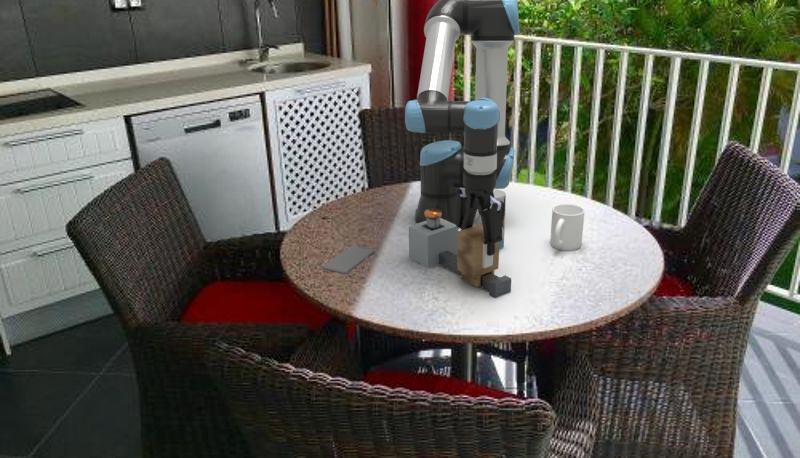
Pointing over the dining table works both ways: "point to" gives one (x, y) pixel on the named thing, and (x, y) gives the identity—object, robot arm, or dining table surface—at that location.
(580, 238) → the mug
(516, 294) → the dining table surface
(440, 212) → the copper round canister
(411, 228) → the grey block with hole
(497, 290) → the rail
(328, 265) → the smartphone
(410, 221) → the dining table surface
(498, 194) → the white printed can
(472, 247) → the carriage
